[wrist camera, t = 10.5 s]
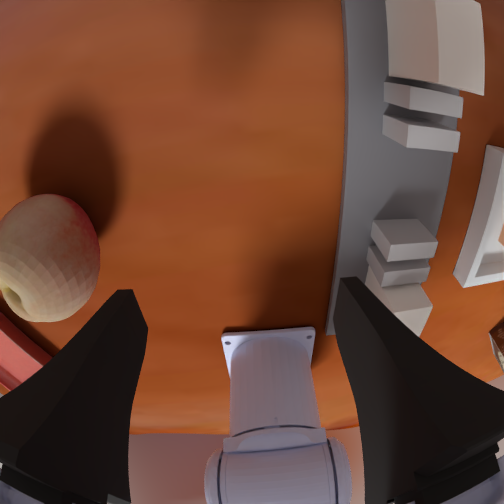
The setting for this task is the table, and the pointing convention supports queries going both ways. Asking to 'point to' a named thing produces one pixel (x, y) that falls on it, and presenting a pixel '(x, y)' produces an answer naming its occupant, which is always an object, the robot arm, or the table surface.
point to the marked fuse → (501, 236)
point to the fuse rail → (389, 160)
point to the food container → (498, 343)
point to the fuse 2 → (437, 42)
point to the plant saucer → (18, 355)
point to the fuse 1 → (403, 301)
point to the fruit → (47, 258)
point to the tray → (485, 227)
